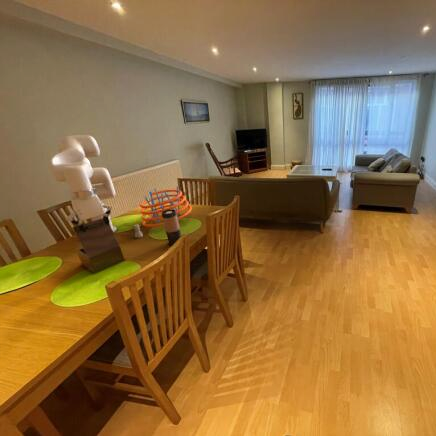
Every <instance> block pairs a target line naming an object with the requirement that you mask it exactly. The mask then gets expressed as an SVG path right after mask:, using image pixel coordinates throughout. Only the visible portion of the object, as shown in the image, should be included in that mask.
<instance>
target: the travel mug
mask: <svg viewBox="0 0 436 436" xmlns="http://www.w3.org/2000/svg"><path fill="white" fill-rule="evenodd" d="M177 214H178V213H177ZM177 214H176V209H174V210H173V209H170V210H165V211H163V212H161V216H162V218H163V219H162V223H164V225H163V226H164V230H165V234H166V237H167V241H168V244H169V245H170V246H174V245H173V244H174V243H175V242H176V241H177V240H178V239H179V238H180V237H181V238H182V234H181V233H182V232H181V228H180V224H179V221H178V219H177V217H178V215H177Z"/></svg>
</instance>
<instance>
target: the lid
mask: <svg viewBox="0 0 436 436" xmlns="http://www.w3.org/2000/svg"><path fill="white" fill-rule="evenodd" d="M82 224H83V225H84V228H85V230H86V233H83V232H82V231H80V230H79V228H78V225H75V226H72V230H73V232H74V234H75V236H76V237H77V240H78V241H79V244H80V245H81V247H82V248H83V249H84V251H85V253H86V254H87V256H88V257H90V256H93V255H96V254H98V253H101V252H103V251H106V250H108V249H111V248H114V247H116V246H120V243H119V241H118V238H117V236H116V234H115V232H113V230H112V228H111V226H110V225H107V224H105V222H104V219H103V218H102V219H99V220H95V221H92V220H91V221H89V222H85V223H82Z"/></svg>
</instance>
